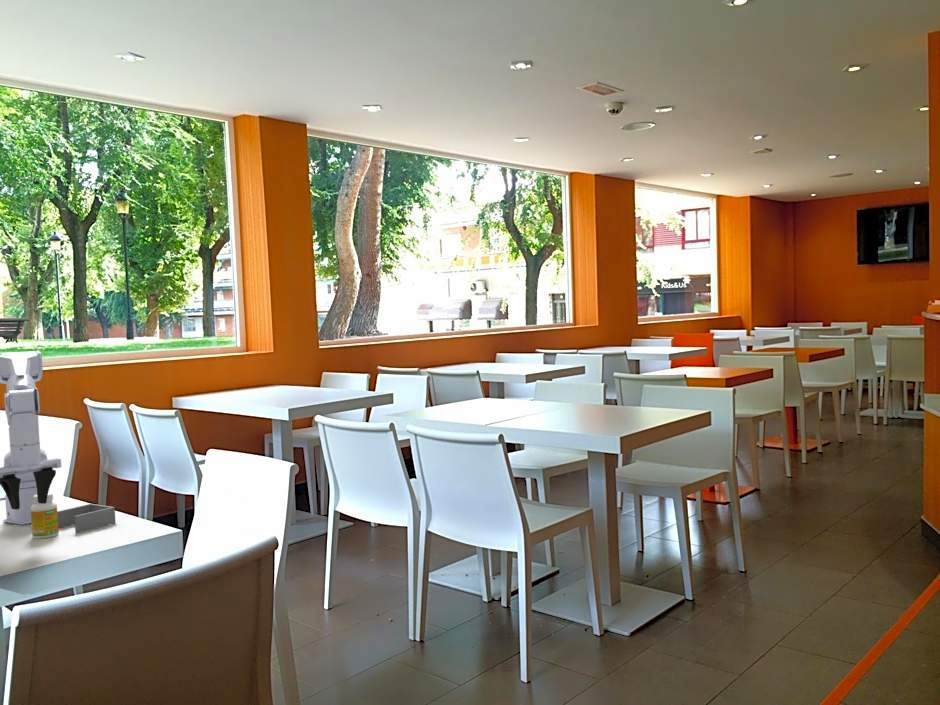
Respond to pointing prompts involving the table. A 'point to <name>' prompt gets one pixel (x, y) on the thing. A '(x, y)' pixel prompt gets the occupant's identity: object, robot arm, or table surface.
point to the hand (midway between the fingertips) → (29, 505)
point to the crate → (86, 517)
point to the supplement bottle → (44, 518)
